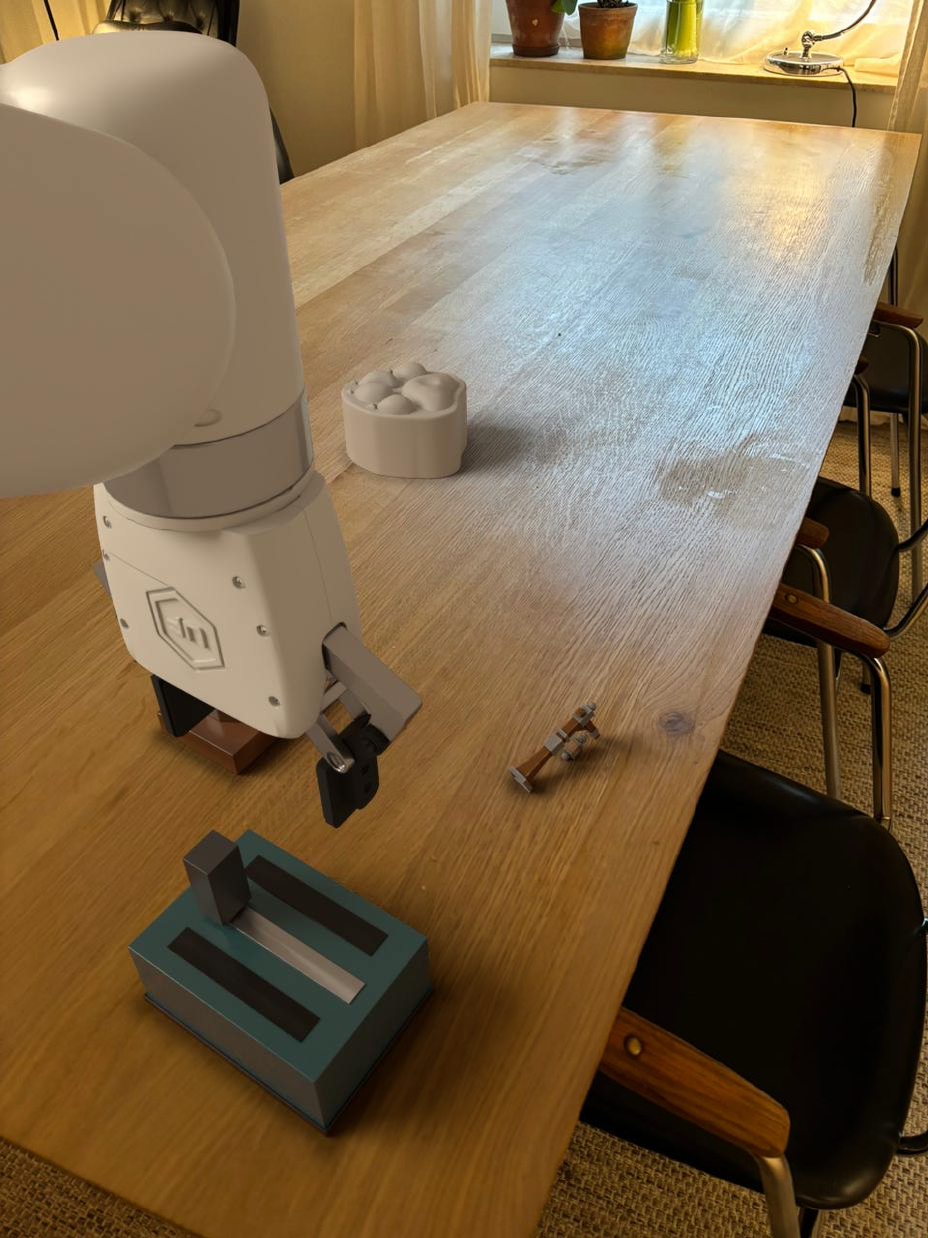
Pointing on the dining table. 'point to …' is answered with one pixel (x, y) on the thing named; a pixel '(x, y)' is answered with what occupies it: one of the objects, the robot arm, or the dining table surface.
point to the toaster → (289, 982)
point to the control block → (225, 740)
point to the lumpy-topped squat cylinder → (406, 422)
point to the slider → (217, 877)
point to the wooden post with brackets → (558, 745)
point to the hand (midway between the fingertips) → (271, 759)
